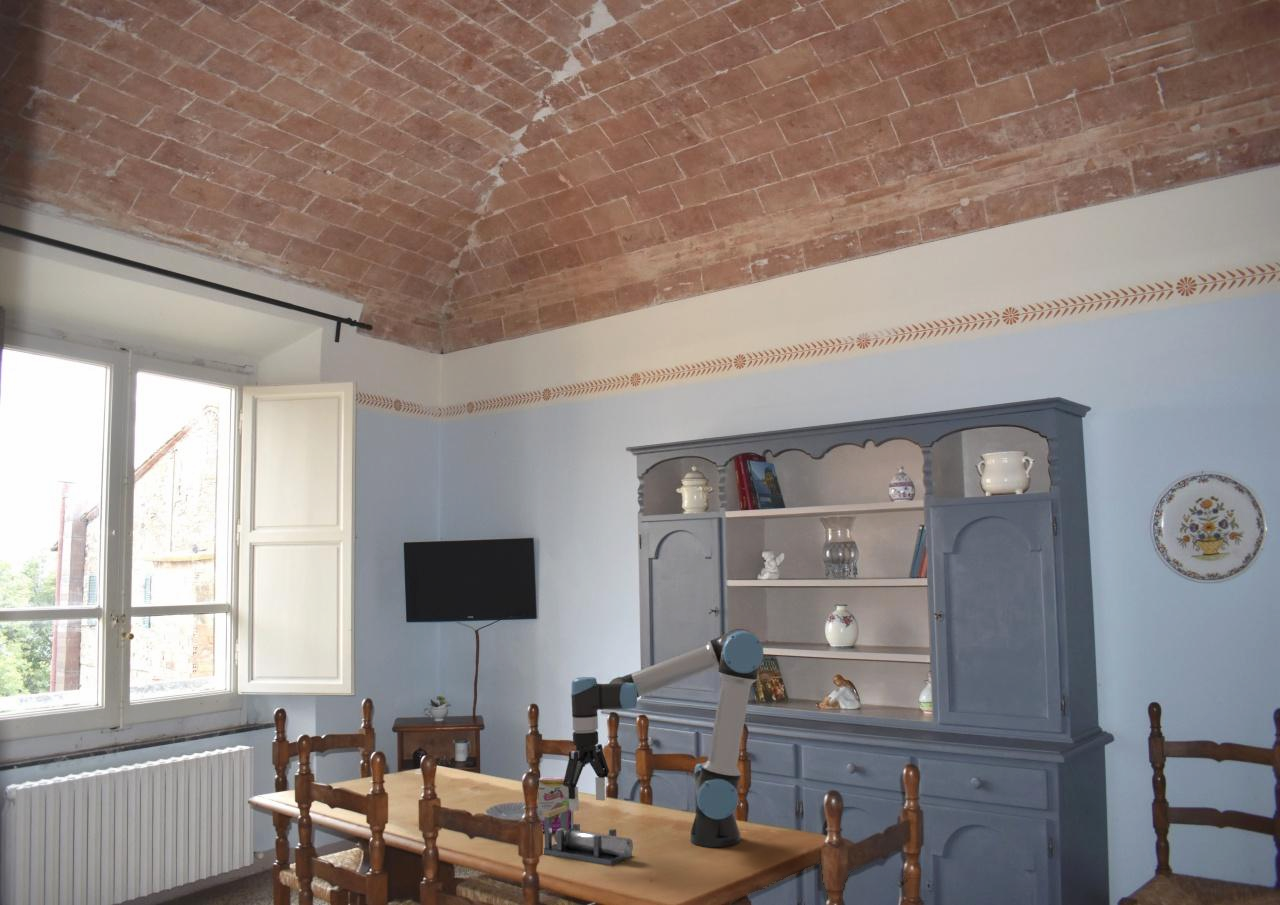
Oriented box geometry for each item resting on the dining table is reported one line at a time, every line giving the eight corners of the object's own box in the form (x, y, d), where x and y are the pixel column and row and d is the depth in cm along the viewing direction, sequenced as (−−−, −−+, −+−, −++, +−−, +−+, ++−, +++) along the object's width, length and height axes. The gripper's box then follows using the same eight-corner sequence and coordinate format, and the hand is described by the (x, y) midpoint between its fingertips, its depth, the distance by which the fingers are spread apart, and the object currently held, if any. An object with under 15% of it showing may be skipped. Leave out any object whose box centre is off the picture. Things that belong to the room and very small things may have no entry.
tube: (632, 856, 290) (633, 837, 291) (622, 858, 286) (623, 839, 287) (564, 845, 302) (565, 826, 304) (554, 847, 298) (555, 828, 299)
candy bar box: (536, 833, 322) (536, 779, 324) (539, 829, 327) (539, 776, 329) (571, 833, 321) (571, 779, 323) (574, 829, 326) (573, 776, 328)
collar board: (631, 855, 294) (631, 814, 296) (610, 865, 285) (610, 822, 286) (564, 845, 307) (564, 805, 308) (542, 854, 298) (542, 813, 299)
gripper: (598, 723, 313) (600, 794, 310) (549, 736, 291) (551, 813, 289) (618, 725, 309) (621, 797, 306) (571, 738, 287) (573, 815, 285)
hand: (587, 805), depth 298 cm, fingers open, 13 cm apart
